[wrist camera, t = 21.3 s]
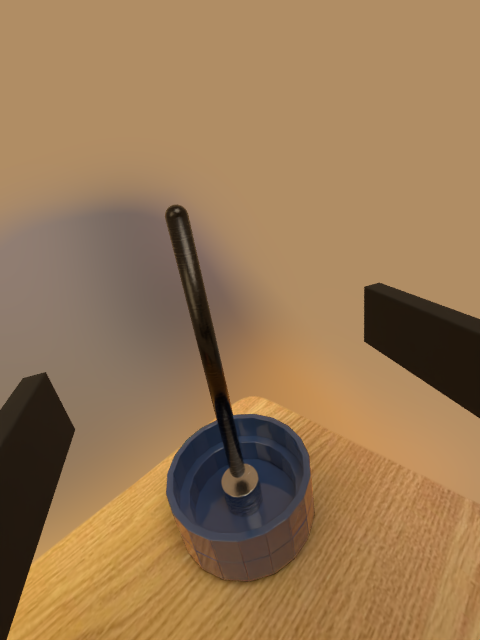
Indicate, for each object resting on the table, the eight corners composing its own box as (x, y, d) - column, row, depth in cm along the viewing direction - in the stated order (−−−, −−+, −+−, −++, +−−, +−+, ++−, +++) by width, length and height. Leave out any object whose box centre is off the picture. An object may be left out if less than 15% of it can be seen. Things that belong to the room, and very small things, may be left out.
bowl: (340, 495, 25) (338, 450, 23) (252, 631, 18) (238, 586, 16) (244, 436, 32) (236, 399, 30) (157, 518, 25) (139, 477, 23)
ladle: (269, 491, 25) (214, 197, 16) (249, 524, 23) (173, 206, 14) (239, 476, 27) (174, 203, 18) (219, 506, 25) (132, 212, 15)
